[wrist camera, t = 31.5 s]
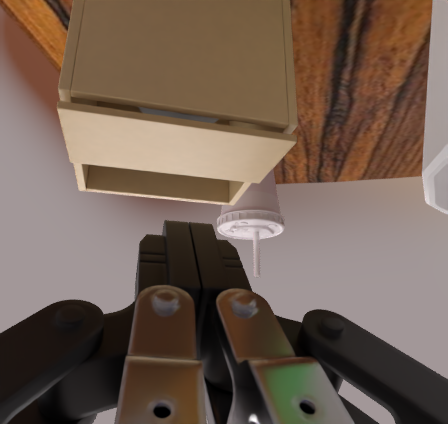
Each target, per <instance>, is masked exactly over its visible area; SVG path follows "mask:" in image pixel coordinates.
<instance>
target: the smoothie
mask: <svg viewBox="0 0 448 424" xmlns="http://www.w3.org/2000/svg"><path fill="white" fill-rule="evenodd" d="M284 221H285V219H284V217H283V216H282V215H281V214H280V207H279V202H278V196H277V190H276V184H275V178H274V173H273V169H272V170H271V171H270V172H269V173H268V174H267V175H266V177H265V178H264V179H263V180H262V181H261V182H260V183H259V184H258V183H251V185H250V186H249V187H248V188H247V190H246V191H245V192H244V193H243V195H242V196H241V197H240V199H239V200H238V201H237V202H236V204H235V205H234V206H232V205H222V211H221V216H219V218H218V219H217V223H218V226H217V227H218V228H217V230H218V232H219V233H221V234H222V235H224V236H227V237H231V238H236V239H253V246H254V277H256V278H258V277H260V251H259V250H260V248H259V239H263V238H269V237H273V236H276V235H279V234H280V233H282V232H283V231H284V229H285V227H284Z"/></svg>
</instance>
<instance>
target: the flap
mask: <svg viewBox="0 0 448 424" xmlns="http://www.w3.org/2000/svg"><path fill="white" fill-rule="evenodd" d="M57 110H58V114H59V118H60V122H61V126H62V131H63V135H64V139H65V143H66V147H67V151H68V155H69V160H70V162H72V163H80V164H89V165H98V166H107V167H116V168H125V169H134V170H143V171H151V172H160V173H169V174H178V175H187V176H196V177H205V178H214V179H223V180H231V181H240V182H249V183H258V184H259V183H260V182H261V181H262V180H263V179H264V178H265V177H266V175H267V174H268V173H269V172H270V171H271V170H272V169H273V168H274V167H275V165H276V164H277V163H278V162H279V161H280V160H281V159H282V158H283V157H284V156H285V154H286V153H287V152H288V151H289V150H290V149H291V148H292V147H293V146H294V144H295V143H296V142H297V136H296V135H291V134H284V133H277V132H270V131H263V130H256V129H249V128H243V127H236V126H229V125H222V124H215V123H208V122H201V121H194V120H187V119H181V118H174V117H167V116H160V115H153V114H146V113H139V112H132V111H125V110H119V109H112V108H105V107H98V106H91V105H84V104H77V103H70V102H64V101H58V103H57Z"/></svg>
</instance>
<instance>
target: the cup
mask: <svg viewBox="0 0 448 424" xmlns="http://www.w3.org/2000/svg"><path fill="white" fill-rule="evenodd" d="M422 178H423V186H424V193H425V201H426V203H427V204H429V205H430V206H432V207H434V208H436V209H437V210H439V211H441V212H443V213H445V214H447V215H448V0H433V4H432V20H431V36H430V52H429V68H428V84H427V100H426V116H425V132H424V148H423V164H422Z"/></svg>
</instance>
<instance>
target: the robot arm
mask: <svg viewBox="0 0 448 424" xmlns="http://www.w3.org/2000/svg"><path fill="white" fill-rule="evenodd" d="M343 379H344V380H346V381H347V382H349V383H350V384H351V385H353V386H354V387H356V388H357V389H359V390H360V391H361V392H363V393H364V394H366V395H367V396H369V397H370V398H371V399H373V400H374V401H376V402H377V403H379V404H380V405H382V406H383V407H384V408H386V409H387V410H388V411H389V412H390V413H391V415H392V416H393V418H394V420H395V423H396V424H448V379H446V378H444V377H443V376H441V375H440V374H437V373H436V372H435V371H433V370H431V369H430V368H428V367H426V366H425V365H423V364H421V363H420V362H418V361H416V360H415V359H413V358H411V357H410V356H408V355H406V354H405V353H403V352H401V351H400V350H398V349H396V348H395V347H393V346H391V345H390V344H388V343H386V342H385V341H383V340H381V339H380V338H378V337H376V336H375V335H373V334H371V333H370V332H368V331H366V330H365V329H363V328H361V327H360V326H358V325H356V324H355V323H353V322H351V321H349V320H348V319H346V318H345V317H343V316H341V315H339V314H337V313H334V312H331V311H328V310H321V309H320V310H319V309H317V310H312V311H309V312H307V313H306V314H305V316H304V318H303V321H302V323H301V322H298V321H293V320H290V319H286V318H282V317H279V316H276V315H274V313H273V311H272V309H271V307H270V305H269V304H268V302H267V301H266V300H265V299H264V298H263V297H261V296H260V295H258V294H256V293H254V292H253V291H252V289H251V286H250V284H249V281H248V278H247V276H246V273H245V271H244V269H243V265H242V263H241V261H240V257H239V255H238V252H237V250H236V248H235V247H234V246H232V245H231V244H230V243H229V242H228V241H227V240H217V238H216V235H215V232H214V229H213V226H212V224H204V223H192V222H189V223H188V222H179V221H167V220H165V221H164V226H163V233H162V235H148V234H147V235H146V236H145V237H144V238H143V239H142V240H141V241H140V244H139V254H138V264H137V273H136V282H135V301H134V302H133V303H132V304H131V305H130V306H128V307H127V308H125V309H123V310H120V311H117V312H113V313H108V314H103V312H102V310H101V309H100V308H99V307H98V306H96V305H94V304H92V303H90V302H87V301H83V300H64V301H59V302H56V303H53V304H51V305H49V306H47V307H45V308H43V309H42V310H40V311H38V312H37V313H35V314H33V315H31V316H30V317H28V318H26V319H25V320H23V321H21V322H19V323H18V324H16V325H14V326H12V327H11V328H9V329H7V330H5V331H4V332H2V333H0V424H92V423H93V422H94V420H95V419H96V416H97V413H99V412H103V411H106V410H109V409H112V408H116V407H117V412H116V417H115V423H114V424H207V423H206V416H207V420H208V424H379V423H378V422H376V421H375V420H373V419H372V418H371V417H369V416H368V415H367V414H365V413H364V412H362V411H361V410H360V409H358V408H357V407H355V406H354V405H353V404H351V403H350V402H349V401H347V400H346V399H344V398H343V397H342V396H340V395H339V394H338V391H339V389H340V386H341V384H342V381H343Z"/></svg>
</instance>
